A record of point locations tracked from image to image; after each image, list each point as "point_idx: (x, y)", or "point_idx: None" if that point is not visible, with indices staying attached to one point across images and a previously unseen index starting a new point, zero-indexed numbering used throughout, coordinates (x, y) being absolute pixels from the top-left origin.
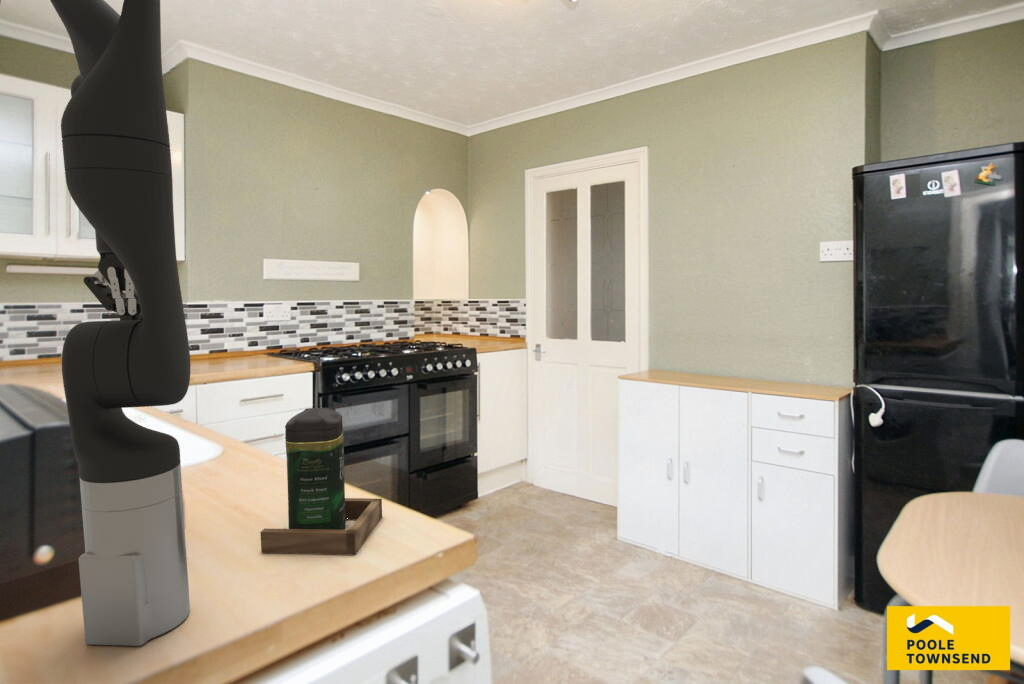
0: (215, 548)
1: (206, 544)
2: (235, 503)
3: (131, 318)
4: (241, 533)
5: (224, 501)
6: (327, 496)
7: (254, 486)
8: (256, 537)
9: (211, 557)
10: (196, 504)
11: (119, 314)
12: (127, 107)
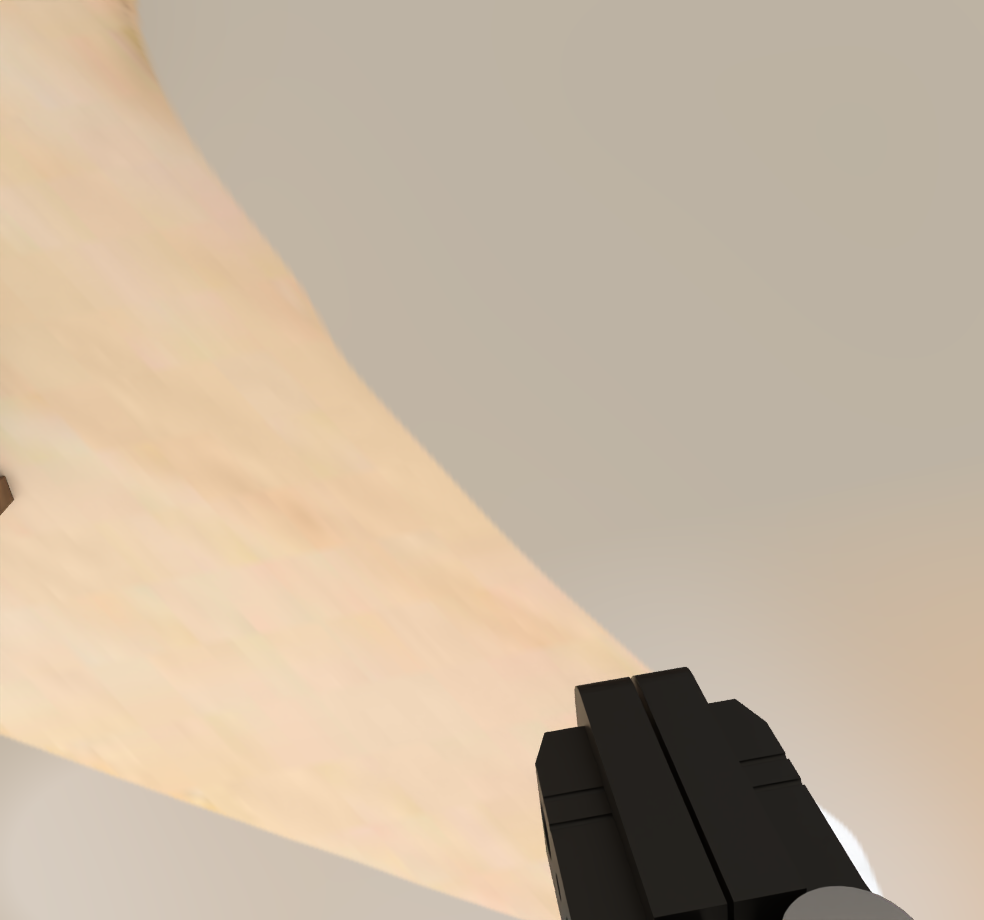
0: (98, 198)
1: (157, 223)
2: (337, 549)
3: (649, 877)
4: (108, 328)
5: (389, 556)
6: None
7: (386, 690)
8: (27, 307)
9: (50, 128)
10: (467, 515)
11: (857, 892)
12: None
